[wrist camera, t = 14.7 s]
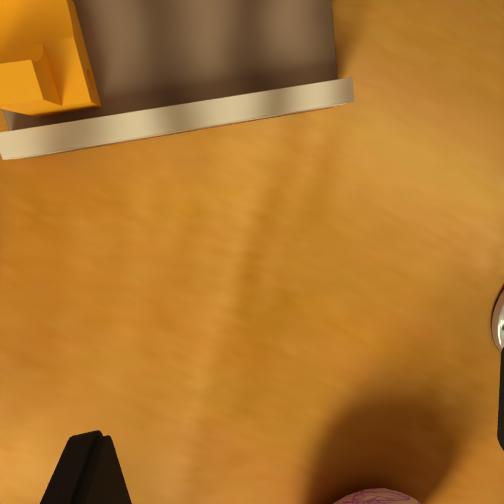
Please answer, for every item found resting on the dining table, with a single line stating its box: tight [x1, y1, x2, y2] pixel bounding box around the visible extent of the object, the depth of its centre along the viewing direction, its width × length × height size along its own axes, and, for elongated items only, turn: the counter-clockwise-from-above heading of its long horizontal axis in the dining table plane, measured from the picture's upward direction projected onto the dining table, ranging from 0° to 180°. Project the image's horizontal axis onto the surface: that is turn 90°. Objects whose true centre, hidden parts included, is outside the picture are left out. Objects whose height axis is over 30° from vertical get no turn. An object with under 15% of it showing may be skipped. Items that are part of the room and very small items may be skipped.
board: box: [0, 0, 354, 160], centre depth 25 cm, size 24×15×4 cm, turn 99°
